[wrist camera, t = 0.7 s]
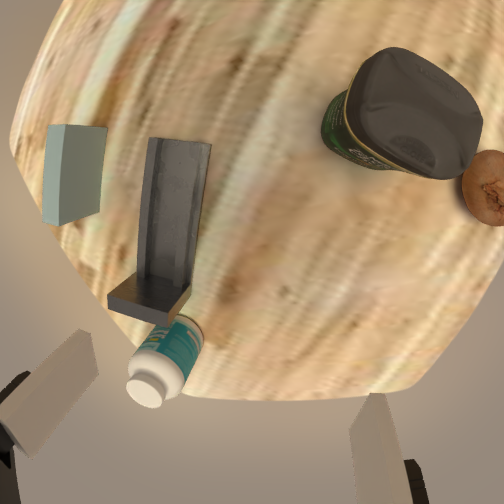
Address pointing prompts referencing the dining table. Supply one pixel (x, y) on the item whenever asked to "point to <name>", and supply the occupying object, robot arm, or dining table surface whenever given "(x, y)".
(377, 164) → the coffee jar
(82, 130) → the gray rectangular block
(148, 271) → the floor track
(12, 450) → the robot arm
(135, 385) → the pill bottle
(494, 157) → the onion
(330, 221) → the dining table surface
